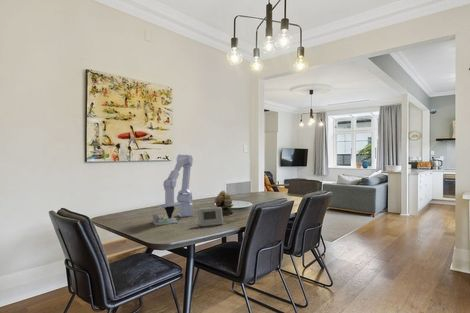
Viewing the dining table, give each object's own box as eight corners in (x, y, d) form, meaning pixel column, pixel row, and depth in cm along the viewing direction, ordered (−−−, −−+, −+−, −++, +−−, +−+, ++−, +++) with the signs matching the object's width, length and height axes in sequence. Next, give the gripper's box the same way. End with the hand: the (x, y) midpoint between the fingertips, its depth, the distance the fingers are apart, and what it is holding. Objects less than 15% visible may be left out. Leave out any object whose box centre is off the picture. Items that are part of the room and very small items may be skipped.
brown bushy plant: (237, 213, 218) (237, 190, 218) (226, 216, 210) (226, 192, 209) (220, 209, 230) (220, 188, 230) (209, 212, 222) (210, 190, 221)
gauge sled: (166, 219, 192) (166, 212, 191) (168, 220, 187) (168, 214, 187) (158, 220, 189) (158, 213, 189) (159, 221, 185) (159, 215, 185)
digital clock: (198, 227, 177) (198, 210, 177) (197, 223, 186) (197, 207, 186) (224, 226, 181) (224, 209, 181) (221, 222, 190) (222, 206, 190)
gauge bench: (173, 219, 197) (173, 212, 197) (177, 223, 187) (177, 215, 187) (152, 221, 191) (152, 213, 191) (155, 225, 181) (155, 217, 181)
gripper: (176, 195, 198) (176, 215, 198) (156, 197, 188) (156, 218, 188) (181, 197, 192) (181, 217, 192) (161, 199, 183) (161, 220, 183)
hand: (169, 218), depth 190 cm, fingers closed
